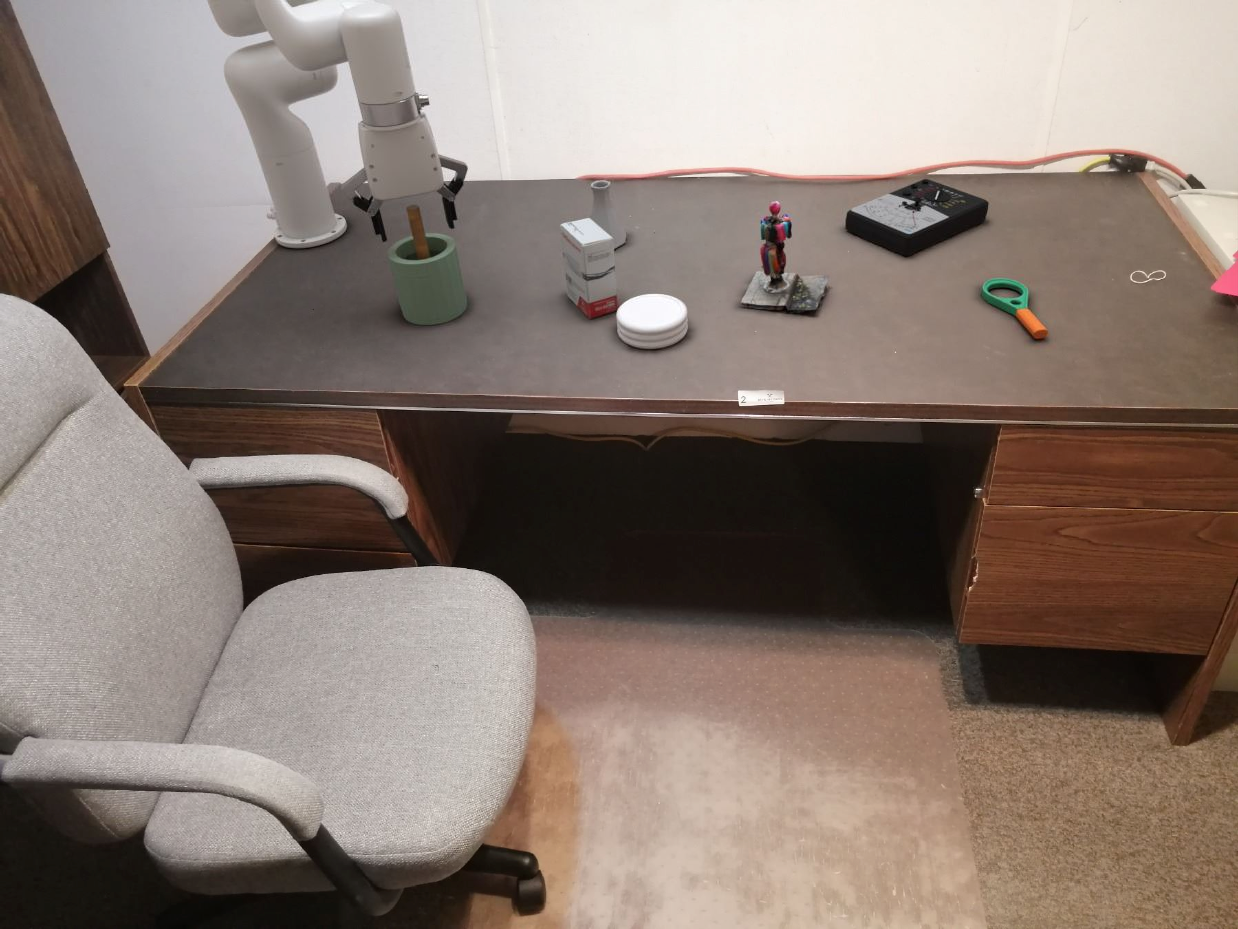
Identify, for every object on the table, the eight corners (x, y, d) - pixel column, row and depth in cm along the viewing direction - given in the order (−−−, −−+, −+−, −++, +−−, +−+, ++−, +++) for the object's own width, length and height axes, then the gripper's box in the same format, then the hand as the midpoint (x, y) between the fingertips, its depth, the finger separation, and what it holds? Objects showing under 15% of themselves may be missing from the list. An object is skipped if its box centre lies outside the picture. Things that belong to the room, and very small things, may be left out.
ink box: (619, 310, 132) (614, 236, 124) (589, 320, 130) (581, 245, 123) (595, 287, 138) (588, 214, 130) (566, 295, 136) (557, 223, 129)
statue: (741, 314, 131) (730, 218, 122) (758, 283, 137) (748, 189, 128) (816, 316, 126) (810, 216, 117) (829, 283, 133) (824, 187, 124)
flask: (577, 248, 148) (570, 190, 142) (594, 230, 153) (588, 173, 147) (617, 253, 146) (612, 194, 140) (633, 234, 151) (629, 176, 145)
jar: (389, 318, 135) (373, 257, 128) (428, 288, 141) (415, 229, 135) (442, 330, 131) (428, 268, 124) (479, 299, 137) (468, 238, 131)
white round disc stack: (666, 357, 121) (665, 335, 119) (604, 340, 126) (602, 318, 123) (700, 322, 127) (700, 301, 125) (640, 307, 132) (639, 286, 130)
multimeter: (986, 221, 146) (992, 192, 142) (905, 258, 138) (909, 228, 135) (923, 197, 154) (927, 169, 151) (843, 231, 147) (846, 202, 143)
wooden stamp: (413, 308, 135) (389, 211, 125) (431, 294, 138) (409, 198, 128) (437, 314, 133) (415, 216, 123) (455, 299, 136) (435, 202, 126)
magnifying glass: (974, 287, 130) (976, 277, 129) (1015, 283, 130) (1017, 273, 129) (1016, 342, 118) (1019, 331, 117) (1061, 338, 118) (1065, 327, 117)
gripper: (450, 91, 122) (472, 210, 132) (321, 112, 118) (354, 232, 129) (459, 107, 116) (481, 230, 127) (324, 130, 113) (359, 254, 124)
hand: (417, 231), depth 128 cm, fingers open, 9 cm apart
